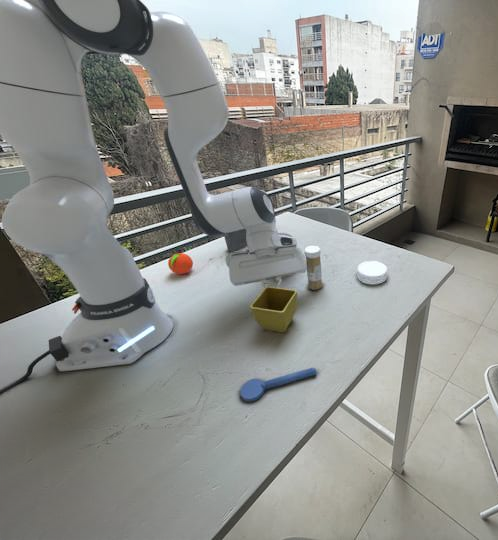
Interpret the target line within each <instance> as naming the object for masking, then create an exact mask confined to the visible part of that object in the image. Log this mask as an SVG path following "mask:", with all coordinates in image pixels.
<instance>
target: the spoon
mask: <svg viewBox="0 0 498 540" xmlns="http://www.w3.org/2000/svg"><path fill="white" fill-rule="evenodd" d="M316 374H317V369H316V368H315V367H310V368H306V369H303V370H299V371H296V372H292V373H288V374H285V375H282V376H278V377H275V378H272V379H268V380H265V381H263V380H262V379H259V378H253V379H249V380H247V381H246V382H245V383H243V384H242V386H241V387H240V392H239V394H240V396H241V399H242V400H243V401H244V402H247V403H249V402H250V403H251V402H255V401H258V400H259V399H260V398H261V397H262V396H263V395H264V393H265V390H268V389H272V388H275V387H276V388H277V387H279V386H283V385H287V384H290V383H292V382H296V381H299V380H302V379H306V378H309V377H313V376H315V375H316Z"/></svg>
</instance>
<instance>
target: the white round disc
mask: <svg viewBox="0 0 498 540" xmlns="http://www.w3.org/2000/svg"><path fill="white" fill-rule="evenodd" d="M356 276H357V279H358V280H359V281H360V282H361V283H363V284H366V285H372V286H374V285H380V284H383V283H384V282H385V281H386V280H387V278H388V267H387V266H386V265H385V264H384V263H383V262H381V261H377V260H366V261H363V262H361V263H359V264H358V265H357V268H356Z"/></svg>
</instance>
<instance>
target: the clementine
mask: <svg viewBox="0 0 498 540" xmlns="http://www.w3.org/2000/svg"><path fill="white" fill-rule="evenodd" d="M167 262H168V263H167V265H168V268H169V270H170V271H172V272H173V273H175V274H177V275H183V274H188V273H189V272H190V271H191V270H192V268H193V267H194V261H193V259H192V257H191V256H190V255H188V254H186V253H183V252H177V253H174V254H172V255H171V256H170V257H169V258H168V261H167Z"/></svg>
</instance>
